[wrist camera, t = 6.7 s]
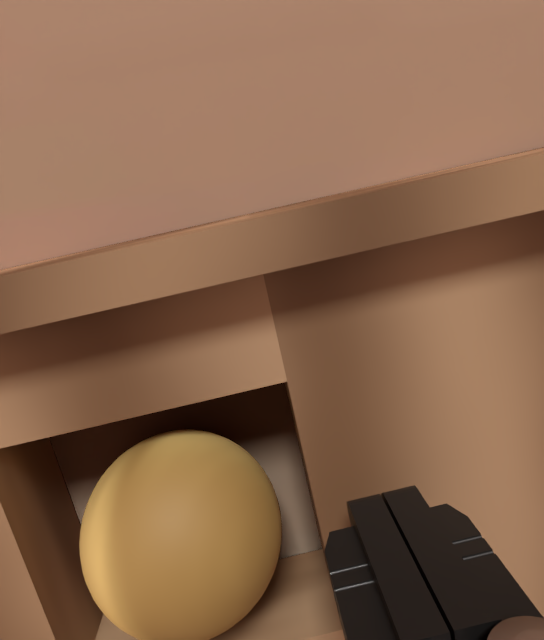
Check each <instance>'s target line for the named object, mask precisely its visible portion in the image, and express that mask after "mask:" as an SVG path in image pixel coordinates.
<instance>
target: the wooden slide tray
mask: <svg viewBox="0 0 544 640" xmlns="http://www.w3.org/2000/svg"><path fill="white" fill-rule="evenodd" d="M283 382H285V386H286V390H287V395H288V399H289V403H290V408H291V412H292V417H293V421H294V426H295V430H296V434H297V439H298V443H299V448H300V452H301V456H302V461H303V465H304V470H305V474H306V479H307V483H308V487H309V492H310V496H311V501H312V505H313V510H314V514H315V518H316V523H317V527H318V532H319V536H320V541H321V545H322V549H320V550H316V551H312V552H307V553H303V554H299V555H295V556H291V557H287V558H283V559H278V562H277V565H276V568H275V571H274V574H273V576H272V578H271V580H270V582H269V584H268V586H267V588H266V590H265V592H264V594H263V595H262V597H261V598H260V600H259V601H258V602H257V603H256V605H255V606H254V607H253V608H252V609H251V611H250V612H249V613H248V614H247V615H246V616H245V617H244V618H243V619H242V620H240V621H239V622H238V623H237V624H235V625H234V626H233V627H232V628H230V629H228V630H227V631H225V632H223V633H222V634H220V635H218V636H216V637H214V638H211V639H209V640H345V638H344V634H343V630H342V626H341V622H340V618H339V614H338V610H337V606H336V601H335V597H334V592H333V588H332V583H331V579H330V575H329V570H328V566H327V561H326V557H325V552H324V550H325V547H326V543H327V539H328V536H329V532H331V531H335V530H339V529H343V528H347V527H351V524H350V519H349V514H348V509H347V501H351V500H355V499H359V498H363V497H367V496H372V495H376V494H380V495H381V493H383V492H388V491H392V490H396V489H400V488H404V487H408V486H413V485H415V486H416V487H417V489H418V490H419V492H420V493H421V495H422V496H423V498H424V499H425V501H426V502H427V504H428V505H429V507H434V506H438V505H442V504H446V503H447V504H448V505H450V506H452V507H453V508H455V509H457V510H458V511H460V512H461V513H463V514H465V515H466V516H468V517H469V519H470V520H471V521H472V523H473V524H474V525H475V527H476V528H477V529H478V531H479V532H480V533H481V536H482V538H484V539H485V540H486V541H487V543H488V544H489V545H490V547H491V548H492V549H493V552H494V554H496V555H497V556H498V557H499V559H500V560H501V561H502V563H503V564H504V565H505V567H506V568H507V569H508V571H509V572H510V573H511V575H512V576H513V578H514V579H515V580H516V582H517V583H518V584H519V586H520V587H521V588H522V590H523V591H524V592H525V594H526V595H527V596H528V598H529V599H530V600H531V602H532V603H533V604H534V606H535V607H536V608H537V610H538V611H539V612H540V614H541V615H542V616H543V617H544V147H543V148H539V149H535V150H530V151H526V152H521V153H517V154H512V155H508V156H504V157H499V158H495V159H490V160H486V161H481V162H477V163H473V164H468V165H464V166H459V167H455V168H450V169H446V170H442V171H437V172H433V173H428V174H424V175H419V176H415V177H411V178H406V179H402V180H397V181H393V182H388V183H384V184H380V185H375V186H371V187H366V188H362V189H357V190H353V191H349V192H344V193H340V194H335V195H331V196H326V197H322V198H318V199H313V200H309V201H304V202H300V203H295V204H291V205H287V206H282V207H278V208H273V209H269V210H264V211H260V212H256V213H251V214H247V215H242V216H238V217H233V218H229V219H225V220H220V221H216V222H211V223H207V224H202V225H198V226H194V227H189V228H185V229H180V230H176V231H171V232H167V233H163V234H158V235H154V236H149V237H145V238H140V239H136V240H132V241H127V242H123V243H118V244H114V245H109V246H105V247H101V248H96V249H92V250H87V251H83V252H78V253H74V254H70V255H65V256H61V257H56V258H52V259H48V260H43V261H39V262H34V263H30V264H25V265H21V266H17V267H12V268H8V269H3V270H0V640H138V639H136V638H134V637H132V636H131V635H129V634H127V633H125V632H124V631H122V630H120V629H119V628H118V627H117V626H116V625H114V624H113V623H112V622H111V621H110V620H109V619H108V618H107V617H106V616H105V615H104V614H103V612H102V611H101V610H100V609H99V607H98V606H97V604H96V603H95V601H94V600H93V598H92V596H91V593H90V591H89V589H88V587H87V585H86V582H85V579H84V576H83V572H82V566H81V560H80V549H79V541H80V530H81V526H80V523H79V520H78V517H77V515H76V512H75V509H74V506H73V504H72V501H71V498H70V495H69V492H68V490H67V487H66V484H65V481H64V479H63V476H62V473H61V470H60V468H59V465H58V462H57V459H56V456H55V454H54V451H53V448H52V445H51V443H50V440H49V437H52V436H56V435H60V434H65V433H69V432H73V431H77V430H82V429H86V428H90V427H95V426H99V425H103V424H107V423H112V422H116V421H120V420H125V419H129V418H133V417H137V416H142V415H146V414H150V413H155V412H159V411H163V410H167V409H172V408H176V407H180V406H185V405H189V404H193V403H197V402H202V401H206V400H210V399H215V398H219V397H223V396H227V395H232V394H236V393H240V392H245V391H249V390H253V389H257V388H262V387H266V386H270V385H275V384H279V383H283Z"/></svg>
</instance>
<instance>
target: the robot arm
mask: <svg viewBox="0 0 544 640" xmlns="http://www.w3.org/2000/svg"><path fill="white" fill-rule="evenodd" d="M347 509H348V514H349V519H350V524H351V527H347V528H343V529H339V530H335V531H331V532H329V536H328V539H327V543H326V547H325V550H324V552H325V557H326V561H327V566H328V570H329V575H330V579H331V583H332V588H333V592H334V597H335V601H336V606H337V610H338V614H339V618H340V622H341V626H342V630H343V634H344V638H345V640H544V617H543V616H542V615H541V614H540V612H539V611H538V610H537V608H536V607H535V606H534V604H533V603H532V602H531V600H530V599H529V598H528V596H527V595H526V594H525V592H524V591H523V590H522V588H521V587H520V586H519V584H518V583H517V582H516V580H515V579H514V578H513V576H512V575H511V573H510V572H509V571H508V569H507V568H506V567H505V565H504V564H503V563H502V561H501V560H500V559H499V557H498V556H497V555H496V554H494V552H493V549H492V548H491V547H490V545H489V544H488V543H487V541H486V540H485V539H484V538H482V536H481V533H480V532H479V531H478V529H477V528H476V527H475V525H474V524H473V523H472V521H471V520H470V519H469V517H468V516H466V515H465V514H463V513H461V512H460V511H458V510H457V509H455V508H453V507H452V506H450V505H448V504H447V503H446V504H442V505H438V506H434V507H429V505H428V504H427V502H426V501H425V499H424V498H423V496H422V495H421V493H420V492H419V490H418V489H417V487H416V486H415V485H413V486H408V487H404V488H400V489H396V490H392V491H388V492H383V493H381V495H380V494H376V495H372V496H367V497H363V498H359V499H355V500H351V501H347Z"/></svg>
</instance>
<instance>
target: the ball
mask: <svg viewBox="0 0 544 640" xmlns="http://www.w3.org/2000/svg"><path fill="white" fill-rule="evenodd" d="M281 538H282V523H281V515H280V508H279V503H278V500H277V497H276V494H275V491H274V489H273V486H272V484H271V482H270V480H269V478H268V476H267V475H266V473H265V471H264V470H263V468H262V467H261V466H260V464H259V463H258V462H257V461H256V460H255V459H254V458H253V456H251V455H250V454H249V453H248V452H247V451H246V450H244V449H243V448H242V447H241V446H239V445H238V444H236V443H234V442H233V441H231V440H229V439H227V438H225V437H222V436H219V435H217V434H214V433H211V432H206V431H200V430H174V431H169V432H165V433H161V434H157V435H155V436H152V437H150V438H147V439H145V440H143V441H141V442H139V443H138V444H136V445H134V446H133V447H131V448H130V449H128V450H127V451H125V452H124V453H123V454H122V455H121V456H119V457H118V458H117V459H116V460H115V461H114V462H113V463H112V465H111V466H110V467H109V468H108V469H107V470H106V471H105V473H104V474H103V475H102V476H101V478H100V479H99V481H98V483H97V484H96V486H95V488H94V490H93V492H92V494H91V496H90V498H89V500H88V503H87V506H86V508H85V512H84V515H83V519H82V524H81V530H80V541H79V549H80V560H81V566H82V572H83V576H84V579H85V582H86V585H87V587H88V589H89V591H90V593H91V596H92V598H93V600H94V601H95V603H96V604H97V606H98V607H99V609H100V610H101V611H102V612H103V614H104V615H105V616H106V617H107V618H108V619H109V620H110V621H111V622H112V623H113V624H114V625H116V626H117V627H118V628H119V629H120V630H122V631H124V632H125V633H127V634H129V635H131V636H132V637H134V638H136V639H138V640H209V639H211V638H214V637H216V636H218V635H220V634H222V633H223V632H225V631H227V630H228V629H230V628H232V627H233V626H234V625H235V624H237V623H238V622H239V621H240V620H242V619H243V618H244V617H245V616H246V615H247V614H248V613H249V612H250V611H251V609H252V608H253V607H254V606H255V605H256V603H257V602H258V601H259V600H260V598H261V597H262V595H263V594H264V592H265V590H266V588H267V586H268V584H269V582H270V580H271V578H272V576H273V574H274V571H275V568H276V565H277V562H278V558H279V553H280V547H281Z"/></svg>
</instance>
